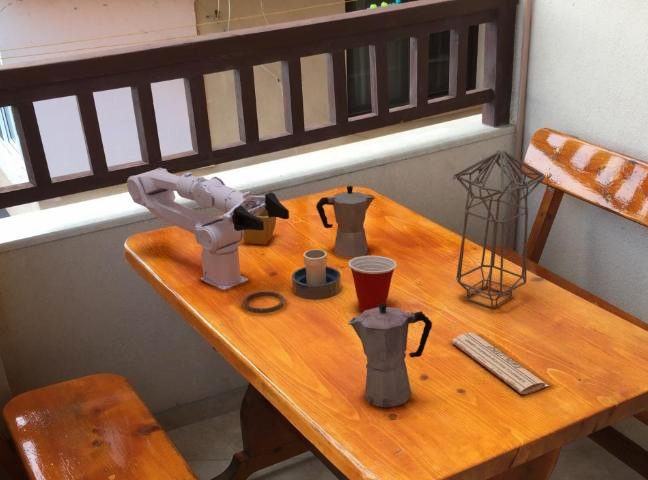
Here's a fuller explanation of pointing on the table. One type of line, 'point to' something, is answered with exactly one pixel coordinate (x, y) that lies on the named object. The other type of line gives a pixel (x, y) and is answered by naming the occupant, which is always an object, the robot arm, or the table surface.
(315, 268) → the clay pot
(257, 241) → the flower pot
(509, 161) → the geometric lantern
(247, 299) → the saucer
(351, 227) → the coffeepot
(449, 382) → the table surface
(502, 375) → the newspaper
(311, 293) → the planter
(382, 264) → the plastic cup
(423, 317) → the moka pot
